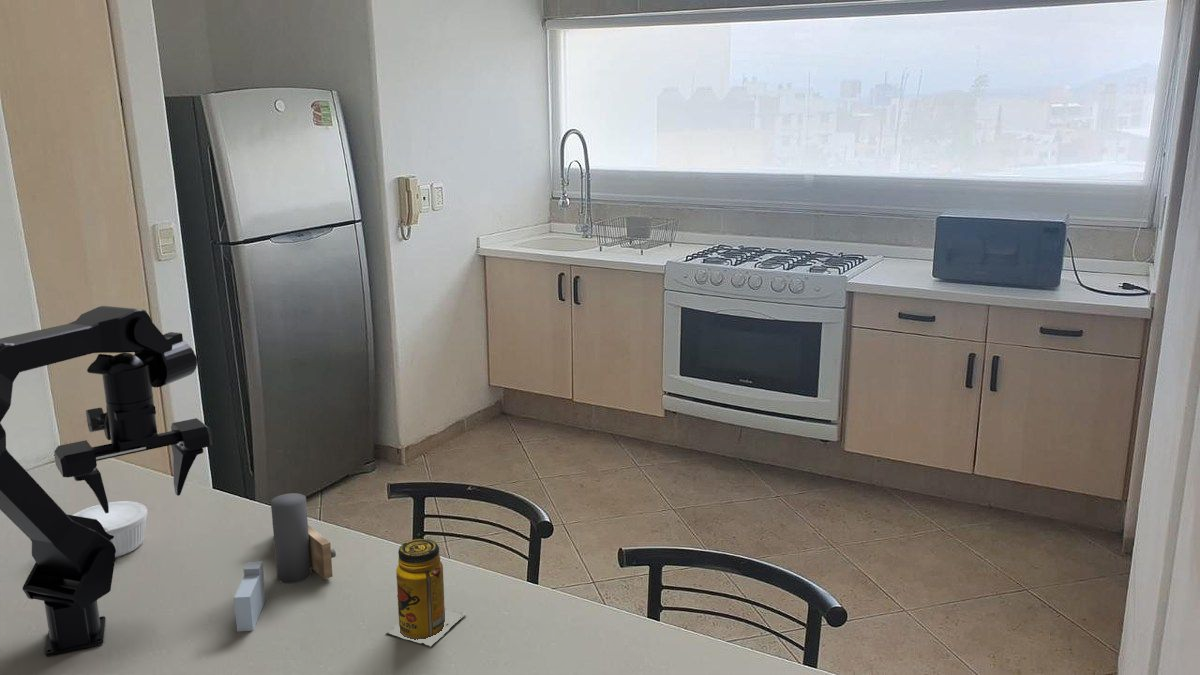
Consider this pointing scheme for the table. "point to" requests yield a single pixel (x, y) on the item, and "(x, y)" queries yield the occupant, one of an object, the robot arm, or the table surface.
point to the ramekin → (121, 523)
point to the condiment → (420, 589)
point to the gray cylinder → (291, 537)
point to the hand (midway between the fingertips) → (142, 503)
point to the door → (320, 554)
